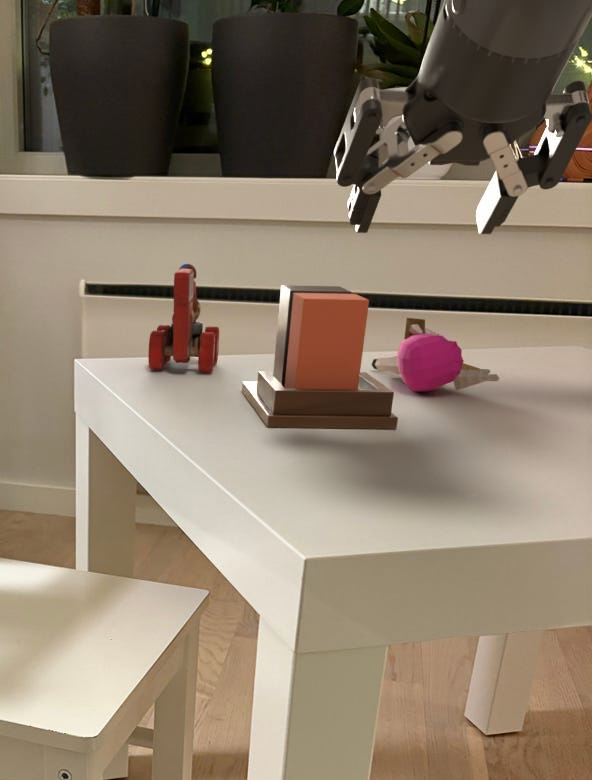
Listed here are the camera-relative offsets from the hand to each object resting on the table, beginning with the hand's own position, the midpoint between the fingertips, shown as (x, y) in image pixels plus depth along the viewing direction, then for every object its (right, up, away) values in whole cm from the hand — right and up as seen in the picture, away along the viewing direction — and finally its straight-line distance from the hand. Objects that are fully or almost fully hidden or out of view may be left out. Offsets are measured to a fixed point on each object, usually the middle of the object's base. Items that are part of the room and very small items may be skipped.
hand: (420, 223), depth 67 cm
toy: (+12, -2, +34) cm, 36 cm away
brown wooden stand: (-3, -7, +22) cm, 24 cm away
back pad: (-3, -8, +19) cm, 21 cm away
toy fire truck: (-13, +1, +40) cm, 42 cm away
